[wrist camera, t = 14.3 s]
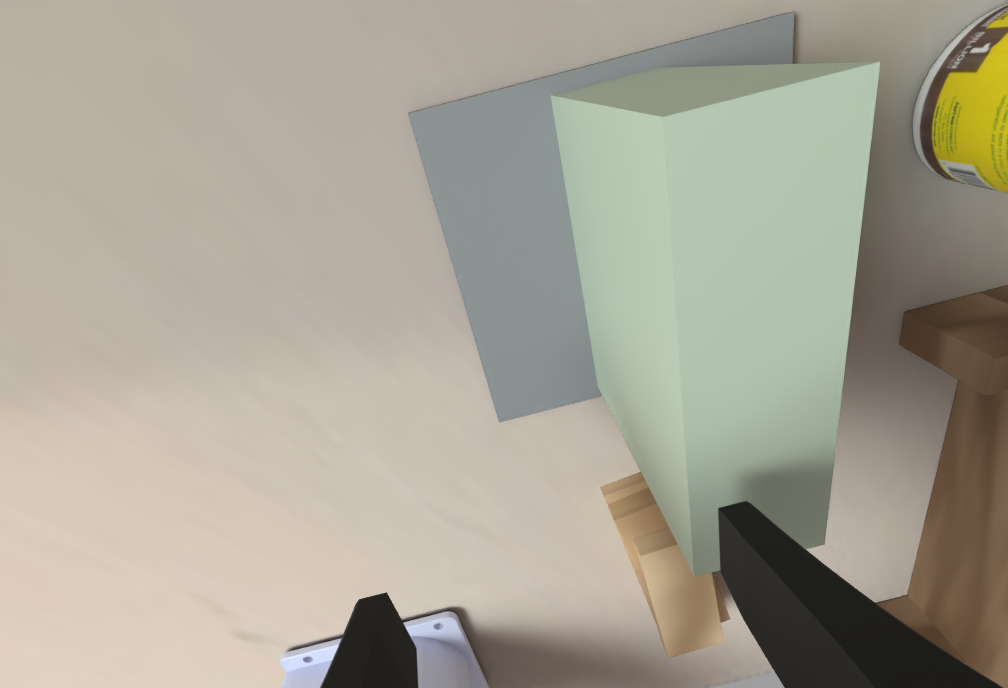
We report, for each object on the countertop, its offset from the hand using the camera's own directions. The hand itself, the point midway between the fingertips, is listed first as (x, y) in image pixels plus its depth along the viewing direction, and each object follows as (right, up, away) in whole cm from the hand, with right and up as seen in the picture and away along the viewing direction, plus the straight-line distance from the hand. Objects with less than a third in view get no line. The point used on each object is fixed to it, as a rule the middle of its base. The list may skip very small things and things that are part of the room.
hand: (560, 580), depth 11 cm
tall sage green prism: (+3, +8, +7) cm, 12 cm away
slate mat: (+3, +9, +8) cm, 12 cm away
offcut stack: (+7, -6, +16) cm, 19 cm away
